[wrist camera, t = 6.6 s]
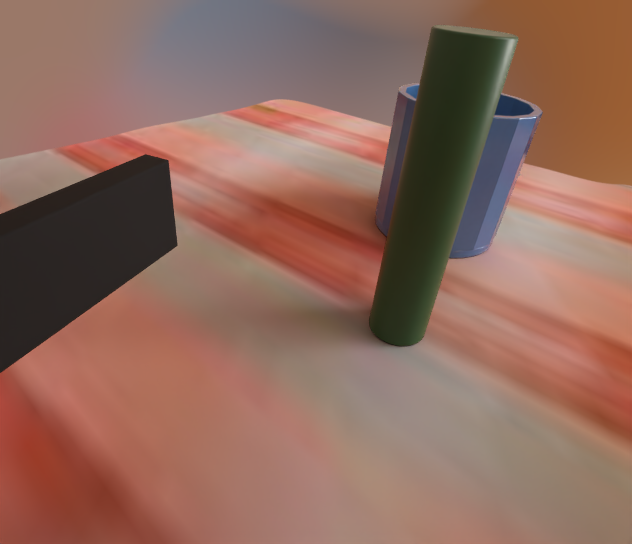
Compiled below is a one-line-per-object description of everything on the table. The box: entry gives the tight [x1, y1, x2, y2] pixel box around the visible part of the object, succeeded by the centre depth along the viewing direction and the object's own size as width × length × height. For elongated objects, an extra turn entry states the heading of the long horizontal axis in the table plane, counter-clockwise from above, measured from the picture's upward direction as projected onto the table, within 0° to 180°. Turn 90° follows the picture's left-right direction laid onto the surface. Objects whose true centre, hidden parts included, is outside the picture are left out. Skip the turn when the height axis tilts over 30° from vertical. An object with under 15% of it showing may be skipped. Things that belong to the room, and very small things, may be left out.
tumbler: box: [375, 83, 543, 258], centre depth 30 cm, size 9×9×10 cm
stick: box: [369, 25, 518, 346], centre depth 19 cm, size 3×3×14 cm
